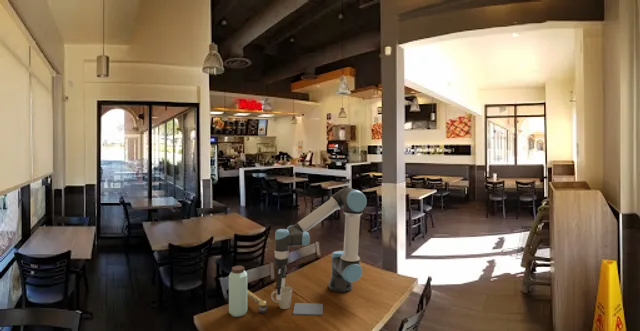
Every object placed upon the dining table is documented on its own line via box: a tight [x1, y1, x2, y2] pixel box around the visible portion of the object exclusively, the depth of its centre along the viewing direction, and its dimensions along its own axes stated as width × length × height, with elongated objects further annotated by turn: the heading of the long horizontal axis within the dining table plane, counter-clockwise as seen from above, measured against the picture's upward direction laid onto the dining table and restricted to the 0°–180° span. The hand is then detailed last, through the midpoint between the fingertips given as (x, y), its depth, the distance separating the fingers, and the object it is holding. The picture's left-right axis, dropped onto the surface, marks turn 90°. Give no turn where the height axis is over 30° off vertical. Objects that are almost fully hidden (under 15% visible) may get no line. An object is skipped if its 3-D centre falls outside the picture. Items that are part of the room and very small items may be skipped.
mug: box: [270, 285, 293, 310], centre depth 196 cm, size 8×13×10 cm, turn 78°
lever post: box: [258, 306, 268, 315], centre depth 189 cm, size 4×4×3 cm
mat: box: [292, 302, 324, 316], centre depth 193 cm, size 16×12×1 cm
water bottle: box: [228, 265, 248, 318], centre depth 187 cm, size 10×10×25 cm
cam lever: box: [247, 289, 268, 308], centre depth 197 cm, size 4×26×3 cm, turn 40°
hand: (280, 294), depth 196 cm, fingers open, 13 cm apart
